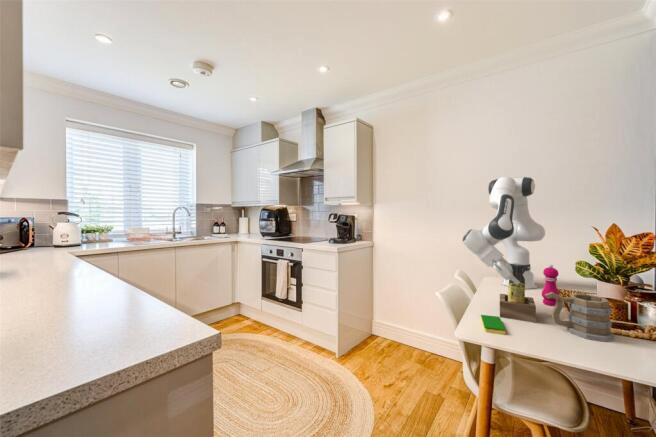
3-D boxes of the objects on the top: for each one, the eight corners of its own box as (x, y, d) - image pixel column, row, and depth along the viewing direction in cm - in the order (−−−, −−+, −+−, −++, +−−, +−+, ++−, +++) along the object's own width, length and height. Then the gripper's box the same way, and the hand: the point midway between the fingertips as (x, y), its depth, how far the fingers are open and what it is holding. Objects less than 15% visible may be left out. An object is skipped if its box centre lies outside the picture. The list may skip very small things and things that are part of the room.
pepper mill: (553, 301, 140) (553, 263, 139) (563, 306, 133) (564, 266, 132) (538, 301, 141) (538, 263, 140) (548, 306, 134) (548, 266, 133)
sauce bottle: (509, 308, 123) (509, 265, 122) (506, 304, 129) (506, 262, 128) (527, 310, 121) (527, 265, 120) (522, 305, 126) (522, 263, 126)
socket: (499, 307, 134) (499, 293, 133) (532, 312, 127) (532, 297, 126) (499, 316, 123) (499, 301, 122) (535, 322, 116) (535, 306, 115)
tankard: (602, 329, 108) (603, 292, 108) (619, 343, 97) (620, 302, 96) (540, 321, 117) (540, 287, 116) (549, 334, 106) (549, 295, 105)
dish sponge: (484, 332, 109) (484, 326, 109) (480, 319, 121) (480, 314, 121) (505, 335, 106) (505, 329, 106) (499, 322, 119) (499, 316, 118)
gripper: (498, 257, 119) (525, 282, 114) (498, 250, 136) (522, 272, 131) (486, 266, 121) (513, 291, 116) (488, 259, 139) (511, 280, 134)
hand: (518, 281), depth 124 cm, fingers closed on sauce bottle, 6 cm apart
